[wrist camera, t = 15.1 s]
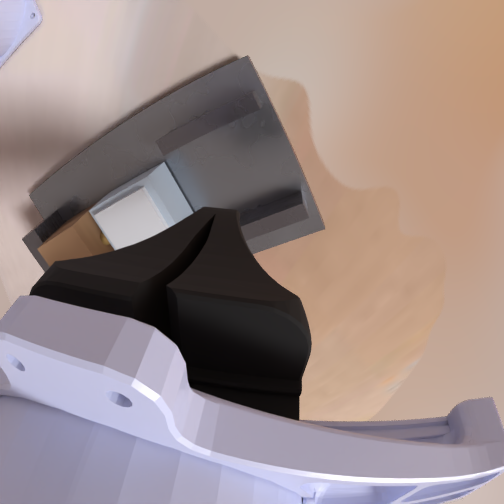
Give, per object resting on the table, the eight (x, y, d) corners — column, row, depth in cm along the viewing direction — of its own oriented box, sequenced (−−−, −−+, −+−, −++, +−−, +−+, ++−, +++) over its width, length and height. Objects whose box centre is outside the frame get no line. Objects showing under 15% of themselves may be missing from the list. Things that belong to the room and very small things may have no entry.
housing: (65, 222, 23) (37, 248, 19) (110, 193, 21) (81, 219, 18) (95, 266, 25) (72, 296, 21) (142, 244, 23) (121, 276, 20)
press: (34, 191, 22) (5, 212, 19) (248, 56, 16) (240, 52, 13) (109, 299, 28) (91, 329, 24) (323, 223, 22) (330, 255, 18)
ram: (108, 193, 21) (85, 213, 18) (164, 161, 19) (145, 178, 17) (143, 247, 23) (126, 273, 20) (199, 223, 22) (187, 248, 19)
